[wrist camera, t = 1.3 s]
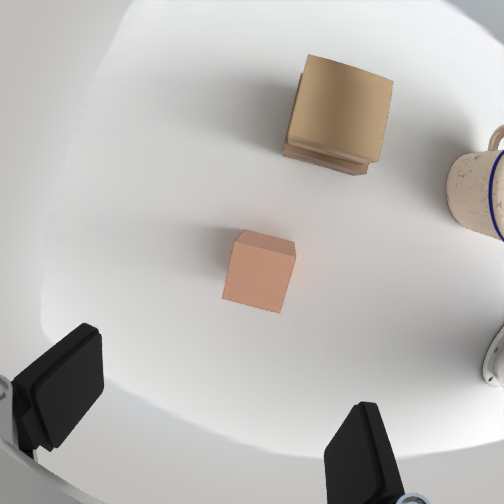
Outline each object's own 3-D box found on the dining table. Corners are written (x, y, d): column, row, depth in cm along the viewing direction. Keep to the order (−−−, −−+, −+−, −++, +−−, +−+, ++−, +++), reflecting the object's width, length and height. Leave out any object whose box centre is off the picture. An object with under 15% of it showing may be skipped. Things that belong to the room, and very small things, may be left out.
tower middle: (374, 99, 20) (393, 81, 15) (359, 165, 22) (378, 161, 17) (304, 78, 20) (308, 54, 16) (288, 144, 22) (288, 134, 17)
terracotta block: (294, 242, 29) (296, 257, 23) (281, 288, 30) (279, 313, 24) (244, 229, 29) (234, 241, 23) (234, 276, 30) (221, 298, 24)
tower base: (366, 110, 25) (381, 97, 20) (352, 175, 27) (366, 174, 22) (299, 90, 25) (301, 73, 20) (283, 156, 27) (282, 150, 22)
